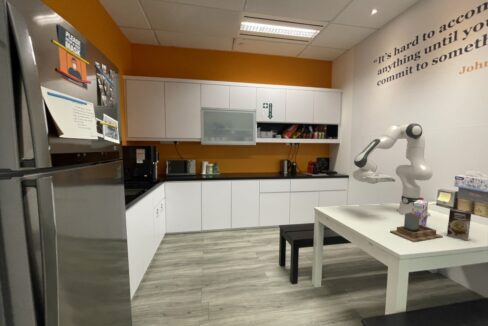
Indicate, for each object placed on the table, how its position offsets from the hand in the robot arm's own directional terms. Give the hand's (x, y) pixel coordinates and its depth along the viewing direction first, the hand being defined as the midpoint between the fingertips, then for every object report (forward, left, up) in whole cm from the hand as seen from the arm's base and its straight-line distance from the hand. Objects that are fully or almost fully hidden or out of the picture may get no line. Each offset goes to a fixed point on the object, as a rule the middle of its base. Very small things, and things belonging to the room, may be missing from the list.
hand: (389, 180), depth 147 cm
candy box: (-18, +9, -30) cm, 36 cm away
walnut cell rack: (+2, +20, -30) cm, 36 cm away
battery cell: (+6, +20, -29) cm, 35 cm away
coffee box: (-20, +29, -30) cm, 46 cm away
